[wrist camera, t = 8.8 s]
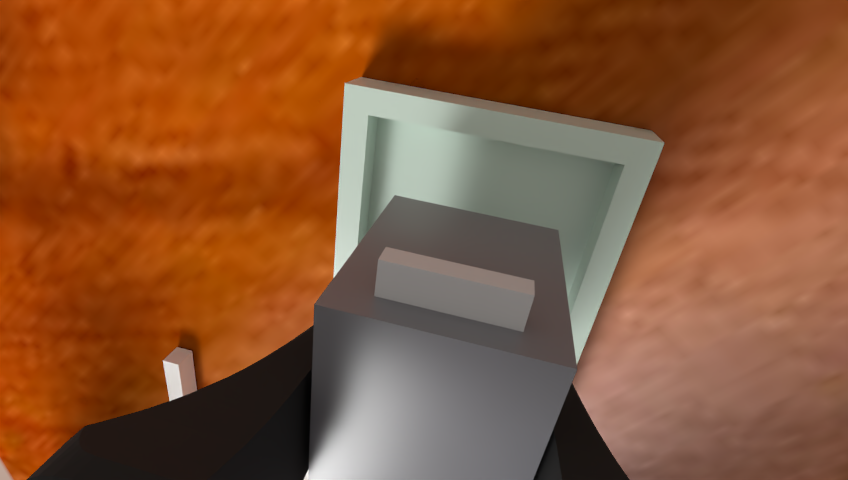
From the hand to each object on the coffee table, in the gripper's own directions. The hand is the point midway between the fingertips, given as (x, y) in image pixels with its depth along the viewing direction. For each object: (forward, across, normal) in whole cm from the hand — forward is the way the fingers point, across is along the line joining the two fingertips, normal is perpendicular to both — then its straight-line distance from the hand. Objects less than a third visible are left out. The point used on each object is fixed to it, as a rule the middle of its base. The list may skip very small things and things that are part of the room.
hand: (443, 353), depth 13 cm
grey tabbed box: (+2, 0, 0) cm, 2 cm away
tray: (+5, 0, 0) cm, 5 cm away
